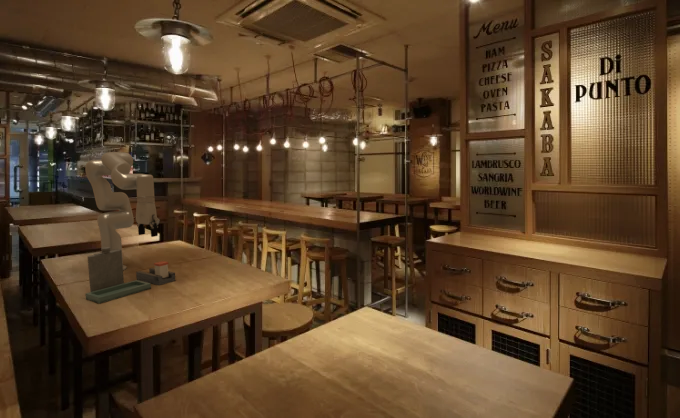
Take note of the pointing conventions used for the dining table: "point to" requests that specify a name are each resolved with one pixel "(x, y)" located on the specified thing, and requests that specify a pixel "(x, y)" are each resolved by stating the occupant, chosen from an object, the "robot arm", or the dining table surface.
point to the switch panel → (155, 277)
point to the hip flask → (105, 269)
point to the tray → (117, 291)
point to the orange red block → (161, 269)
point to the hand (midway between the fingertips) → (148, 235)
